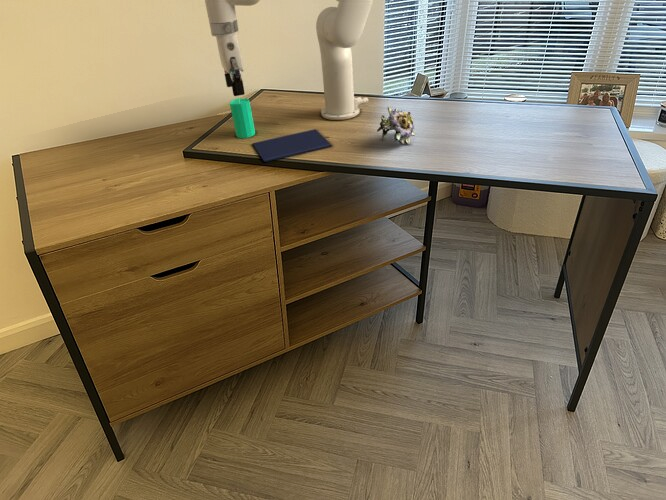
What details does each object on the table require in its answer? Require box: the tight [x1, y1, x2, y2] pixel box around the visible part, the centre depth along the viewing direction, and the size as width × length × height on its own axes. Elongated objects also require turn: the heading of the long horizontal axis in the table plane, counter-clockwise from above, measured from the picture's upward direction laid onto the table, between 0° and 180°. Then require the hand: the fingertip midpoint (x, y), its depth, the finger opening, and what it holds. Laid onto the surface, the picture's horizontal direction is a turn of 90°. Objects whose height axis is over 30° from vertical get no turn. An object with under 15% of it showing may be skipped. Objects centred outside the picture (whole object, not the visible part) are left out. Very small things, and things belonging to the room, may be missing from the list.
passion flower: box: [376, 106, 415, 145], centre depth 135 cm, size 11×11×12 cm
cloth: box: [252, 128, 333, 163], centre depth 140 cm, size 20×14×1 cm
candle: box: [229, 95, 256, 139], centre depth 146 cm, size 6×6×12 cm
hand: (235, 90), depth 142 cm, fingers open, 9 cm apart
